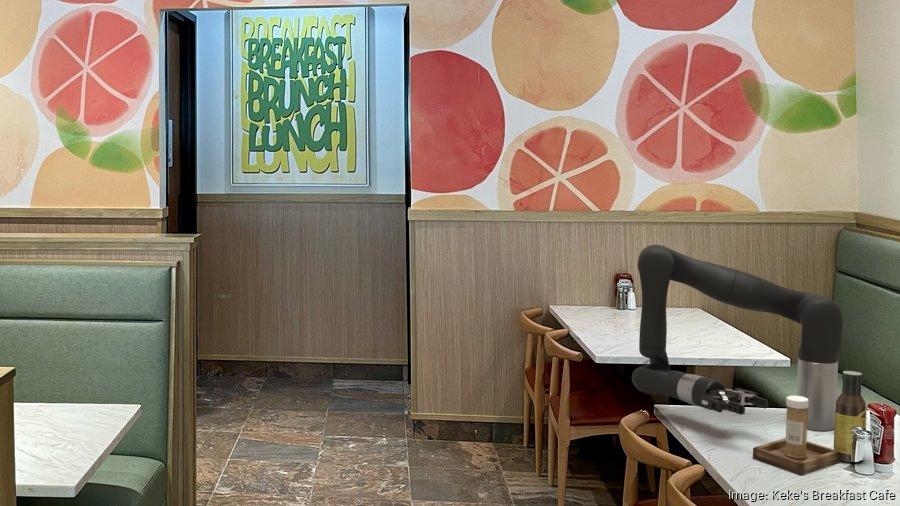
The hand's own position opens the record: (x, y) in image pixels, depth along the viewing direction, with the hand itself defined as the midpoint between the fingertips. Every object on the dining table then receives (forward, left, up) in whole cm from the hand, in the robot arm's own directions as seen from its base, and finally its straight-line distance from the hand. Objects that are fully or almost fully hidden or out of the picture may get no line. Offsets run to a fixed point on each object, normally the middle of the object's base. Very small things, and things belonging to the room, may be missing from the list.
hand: (755, 407), depth 181 cm
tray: (0, +11, -9) cm, 14 cm away
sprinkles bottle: (0, +11, -9) cm, 14 cm away
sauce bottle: (-10, +17, -10) cm, 22 cm away
